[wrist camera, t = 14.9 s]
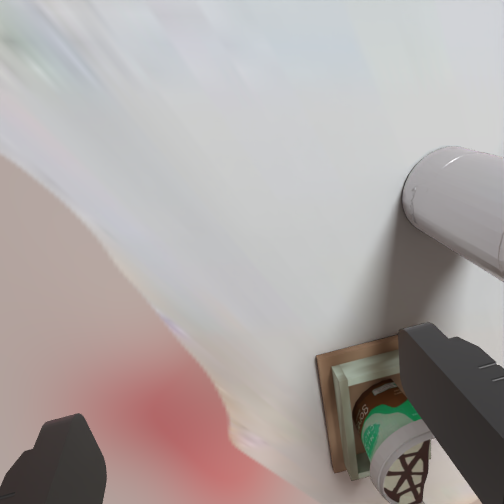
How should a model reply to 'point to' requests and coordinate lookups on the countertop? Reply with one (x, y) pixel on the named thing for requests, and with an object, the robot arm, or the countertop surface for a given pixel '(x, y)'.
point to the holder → (354, 397)
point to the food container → (393, 442)
